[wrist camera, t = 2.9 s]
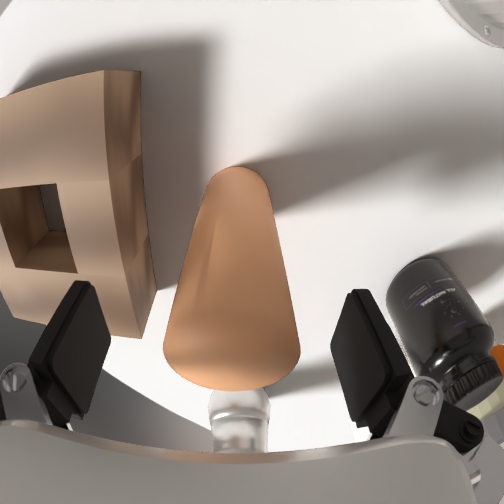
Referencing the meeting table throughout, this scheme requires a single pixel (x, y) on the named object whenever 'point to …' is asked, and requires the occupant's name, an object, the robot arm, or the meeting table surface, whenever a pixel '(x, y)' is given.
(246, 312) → the peg
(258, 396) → the plastic bottle
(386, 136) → the meeting table surface
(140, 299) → the socket block
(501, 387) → the reusable coffee cup
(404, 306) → the supplement bottle
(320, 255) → the meeting table surface
